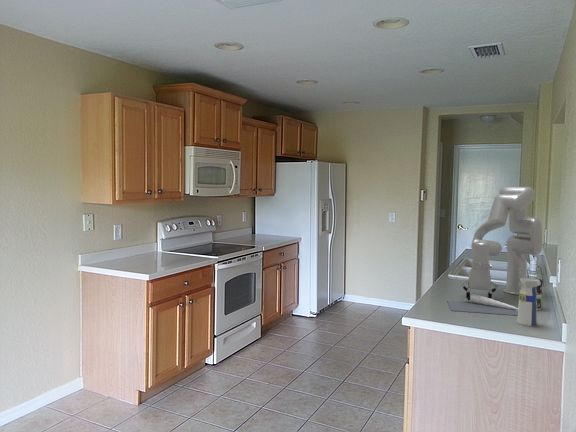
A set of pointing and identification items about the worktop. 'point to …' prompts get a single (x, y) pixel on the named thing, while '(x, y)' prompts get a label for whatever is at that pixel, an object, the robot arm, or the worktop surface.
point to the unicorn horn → (489, 302)
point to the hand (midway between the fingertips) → (478, 300)
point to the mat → (480, 308)
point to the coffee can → (538, 290)
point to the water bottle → (527, 301)
